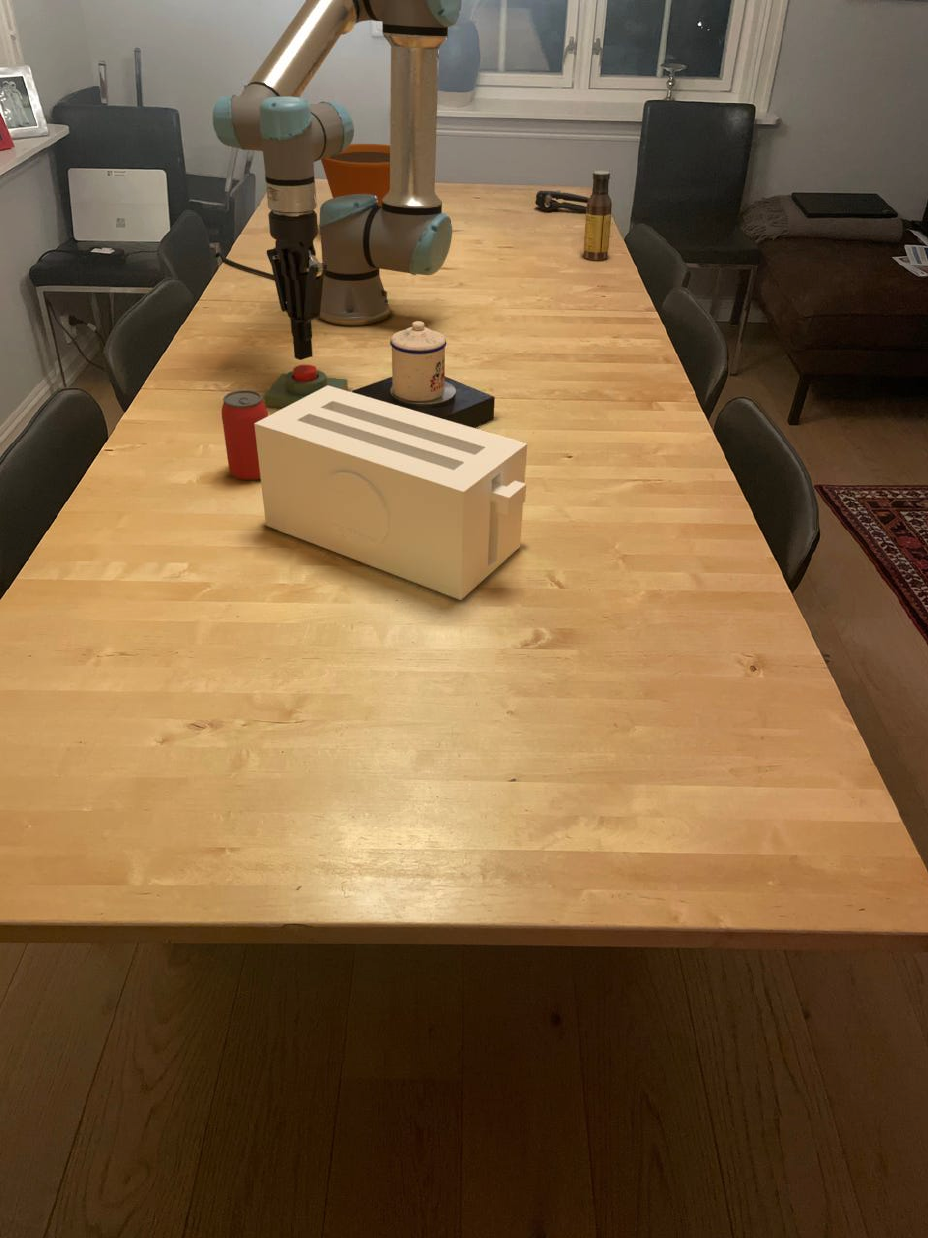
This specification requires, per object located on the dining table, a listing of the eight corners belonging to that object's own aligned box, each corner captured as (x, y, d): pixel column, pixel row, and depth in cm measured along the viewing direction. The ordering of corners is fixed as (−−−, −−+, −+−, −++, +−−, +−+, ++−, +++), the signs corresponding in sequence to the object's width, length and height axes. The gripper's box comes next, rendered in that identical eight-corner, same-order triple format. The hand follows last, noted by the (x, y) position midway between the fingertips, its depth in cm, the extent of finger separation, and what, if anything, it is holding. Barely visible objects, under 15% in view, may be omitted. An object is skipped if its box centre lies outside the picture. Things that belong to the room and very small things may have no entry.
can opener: (533, 212, 276) (534, 191, 272) (535, 206, 281) (537, 185, 278) (594, 216, 273) (597, 195, 270) (596, 210, 279) (598, 189, 276)
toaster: (262, 528, 132) (250, 425, 123) (334, 482, 143) (328, 385, 134) (478, 611, 118) (482, 502, 109) (539, 553, 129) (548, 449, 120)
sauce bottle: (602, 253, 244) (611, 168, 232) (610, 260, 239) (620, 174, 227) (578, 254, 242) (586, 169, 231) (586, 261, 238) (594, 174, 226)
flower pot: (413, 250, 242) (412, 164, 230) (319, 247, 242) (313, 161, 230) (418, 225, 261) (417, 144, 249) (331, 222, 261) (326, 142, 249)
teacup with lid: (441, 404, 156) (442, 334, 149) (386, 400, 157) (384, 330, 150) (451, 376, 165) (452, 309, 159) (399, 372, 166) (398, 305, 159)
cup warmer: (351, 411, 164) (349, 386, 161) (419, 386, 173) (419, 361, 170) (425, 447, 154) (425, 421, 151) (493, 418, 163) (495, 393, 160)
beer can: (236, 485, 142) (226, 410, 135) (224, 466, 147) (213, 392, 140) (279, 476, 145) (272, 402, 137) (265, 458, 149) (257, 385, 142)
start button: (290, 381, 164) (290, 372, 163) (298, 373, 168) (297, 363, 167) (313, 383, 164) (312, 374, 163) (320, 375, 167) (319, 365, 166)
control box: (264, 406, 165) (262, 384, 162) (283, 383, 173) (281, 362, 170) (332, 413, 163) (331, 390, 161) (348, 389, 171) (346, 368, 169)
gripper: (247, 206, 151) (262, 351, 165) (298, 222, 144) (309, 373, 158) (286, 198, 155) (297, 341, 169) (337, 214, 148) (345, 362, 162)
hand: (303, 356), depth 163 cm, fingers closed
